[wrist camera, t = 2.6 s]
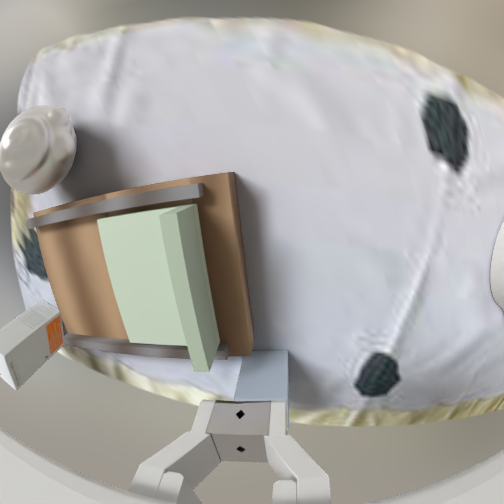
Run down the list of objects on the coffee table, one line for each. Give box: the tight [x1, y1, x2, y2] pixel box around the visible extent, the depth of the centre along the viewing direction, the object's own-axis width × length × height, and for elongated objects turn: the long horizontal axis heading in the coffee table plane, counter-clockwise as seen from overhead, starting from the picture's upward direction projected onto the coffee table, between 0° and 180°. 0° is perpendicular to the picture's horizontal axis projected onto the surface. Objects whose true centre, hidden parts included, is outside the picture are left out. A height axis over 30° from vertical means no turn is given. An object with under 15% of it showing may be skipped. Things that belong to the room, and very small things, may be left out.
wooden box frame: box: [27, 172, 254, 360], centre depth 25 cm, size 22×16×4 cm
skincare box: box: [0, 300, 64, 390], centre depth 25 cm, size 6×4×12 cm
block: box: [234, 350, 289, 428], centre depth 25 cm, size 4×4×7 cm
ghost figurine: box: [0, 106, 77, 194], centre depth 19 cm, size 9×9×10 cm
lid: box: [97, 204, 220, 372], centre depth 21 cm, size 9×12×4 cm
